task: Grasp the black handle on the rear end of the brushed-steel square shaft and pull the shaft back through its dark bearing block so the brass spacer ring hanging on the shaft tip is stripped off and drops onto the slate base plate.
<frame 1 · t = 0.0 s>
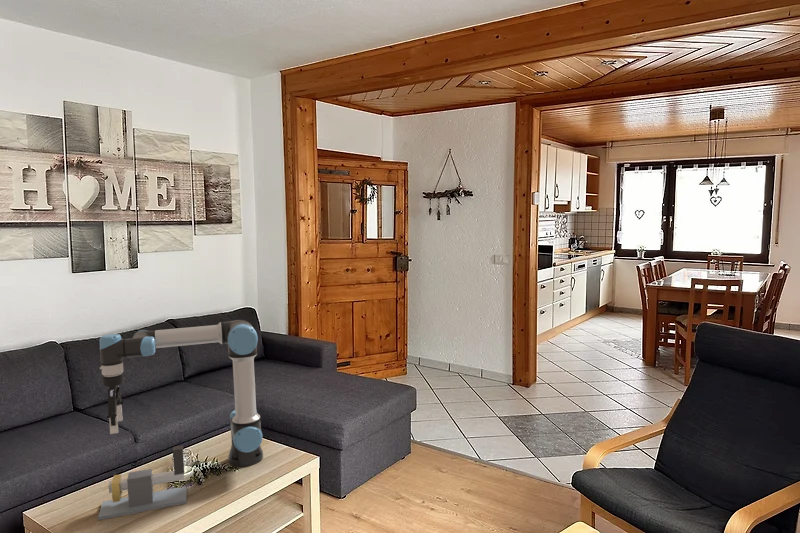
hand: (116, 427, 215), 28 cm above the table, fingers open, 13 cm apart
bracket: (144, 503, 210), on the table
spacer: (117, 497, 206), point 5 cm above the table, touching shaft
shaft: (146, 468, 209), point 14 cm above the table, slide at 0.0 cm, touching spacer
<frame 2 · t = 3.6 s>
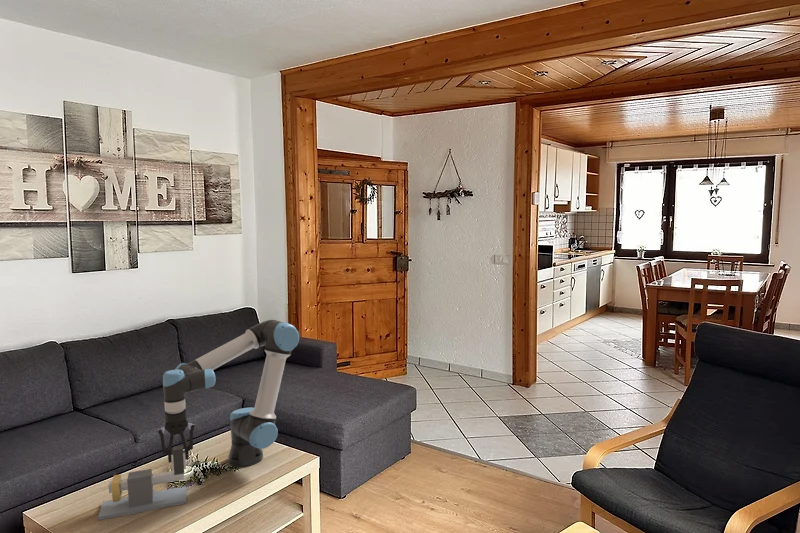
hand: (179, 468, 213), 12 cm above the table, fingers closed on shaft, 3 cm apart
shaft: (146, 468, 209), point 14 cm above the table, slide at 0.0 cm, touching gripper, spacer
everything else where it was.
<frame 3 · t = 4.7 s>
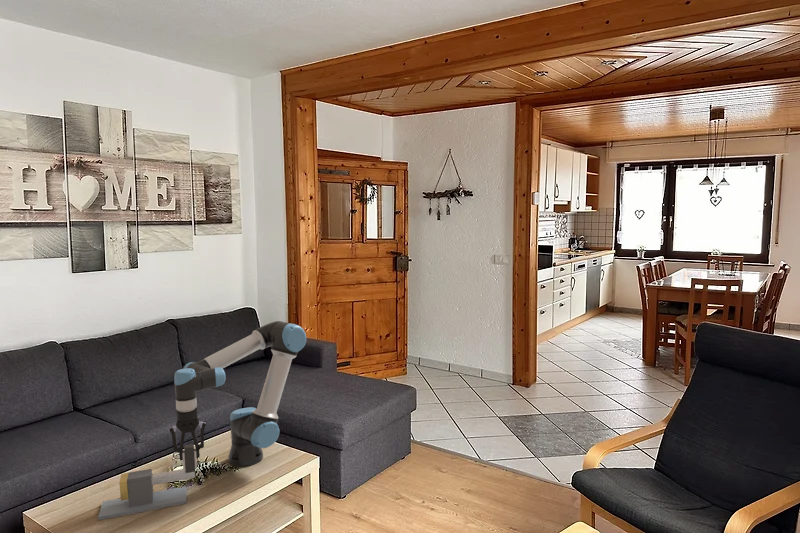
hand: (190, 466, 215), 12 cm above the table, fingers closed on shaft, 3 cm apart
spacer: (125, 495, 207), point 5 cm above the table, touching bracket
shaft: (158, 466, 211), point 14 cm above the table, slide at 4.1 cm, touching gripper
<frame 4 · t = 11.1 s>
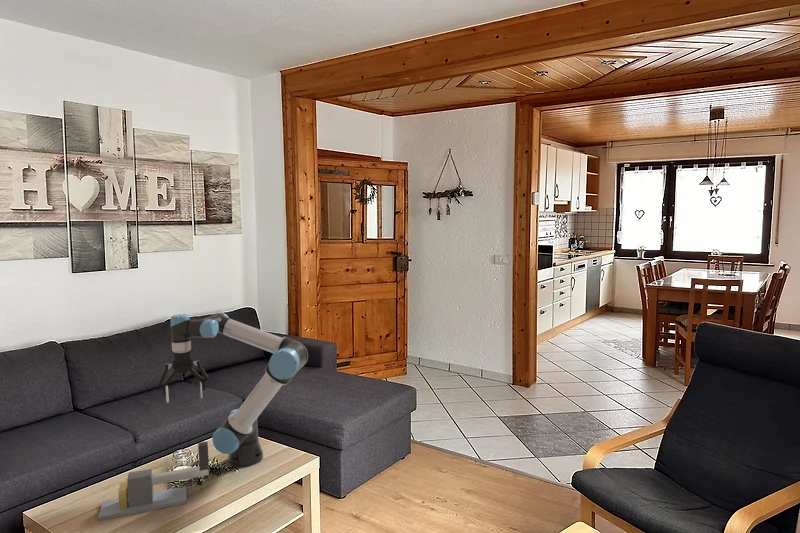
hand: (184, 399, 234), 32 cm above the table, fingers open, 13 cm apart
spacer: (124, 504, 207), point 1 cm above the table, touching bracket
shaft: (172, 464, 212), point 14 cm above the table, slide at 9.2 cm
at the end: shaft slide at 9.2 cm; spacer touching bracket; spacer point 1.2 cm above the table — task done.
